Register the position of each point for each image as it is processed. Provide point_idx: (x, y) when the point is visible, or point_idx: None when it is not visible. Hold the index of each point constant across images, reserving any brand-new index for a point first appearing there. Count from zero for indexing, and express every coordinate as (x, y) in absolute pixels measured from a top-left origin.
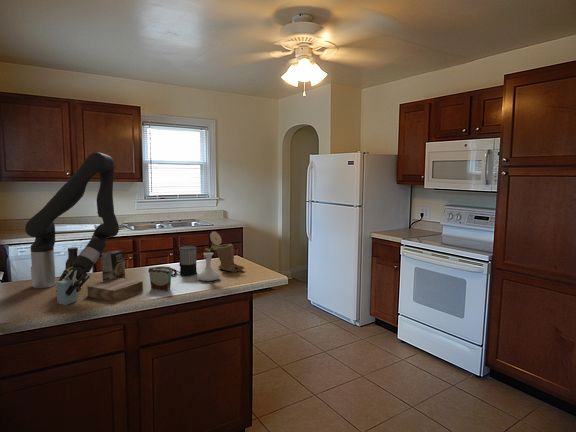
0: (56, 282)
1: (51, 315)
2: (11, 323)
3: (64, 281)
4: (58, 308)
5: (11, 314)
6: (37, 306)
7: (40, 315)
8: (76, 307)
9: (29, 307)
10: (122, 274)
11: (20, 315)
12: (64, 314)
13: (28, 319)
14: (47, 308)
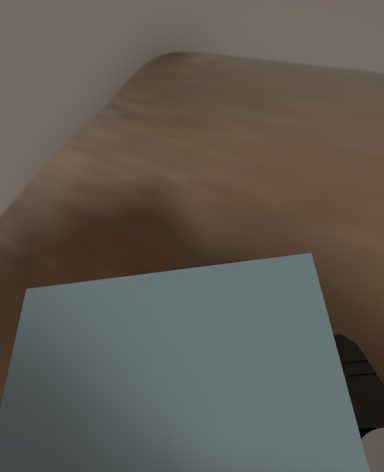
0: (304, 258)
1: (64, 190)
2: (151, 64)
3: (181, 405)
4: (136, 274)
5: (292, 84)
6: (334, 214)
7: (124, 159)
8: None
9: (359, 175)
10: None
11: (228, 105)
12: (3, 235)
13: (128, 111)
14: (212, 232)
